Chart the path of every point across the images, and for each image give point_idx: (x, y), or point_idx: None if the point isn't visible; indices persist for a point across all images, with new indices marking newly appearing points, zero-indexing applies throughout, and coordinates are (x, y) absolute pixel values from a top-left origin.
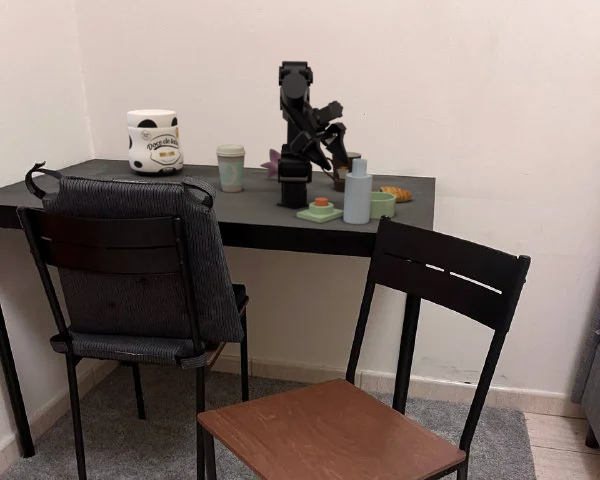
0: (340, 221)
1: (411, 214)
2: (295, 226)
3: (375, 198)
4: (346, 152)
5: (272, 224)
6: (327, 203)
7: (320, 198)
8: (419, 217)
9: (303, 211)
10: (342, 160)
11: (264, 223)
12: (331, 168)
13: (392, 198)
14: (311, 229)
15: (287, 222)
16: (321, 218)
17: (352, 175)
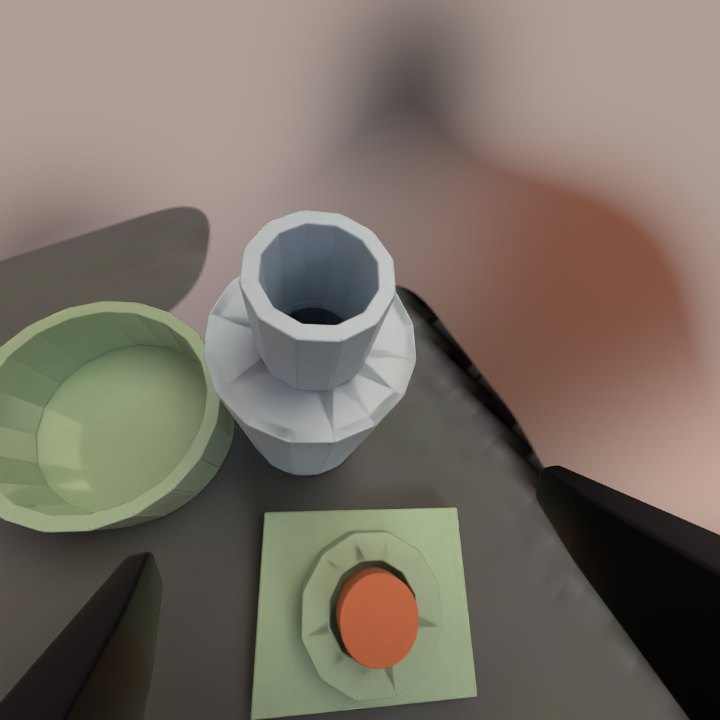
0: (362, 462)
1: (48, 302)
2: (563, 556)
3: (11, 471)
4: (6, 698)
5: (631, 666)
6: (360, 572)
7: (374, 635)
8: (82, 259)
9: (434, 683)
10: (146, 666)
11: (655, 714)
12: (547, 467)
13: (35, 349)
14: (535, 473)
15: (556, 638)
16: (452, 507)
17: (363, 365)
